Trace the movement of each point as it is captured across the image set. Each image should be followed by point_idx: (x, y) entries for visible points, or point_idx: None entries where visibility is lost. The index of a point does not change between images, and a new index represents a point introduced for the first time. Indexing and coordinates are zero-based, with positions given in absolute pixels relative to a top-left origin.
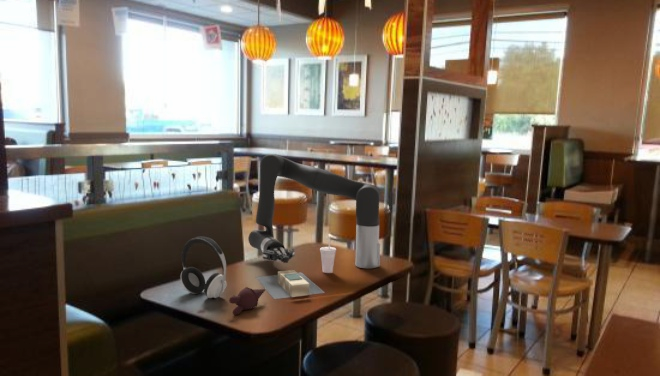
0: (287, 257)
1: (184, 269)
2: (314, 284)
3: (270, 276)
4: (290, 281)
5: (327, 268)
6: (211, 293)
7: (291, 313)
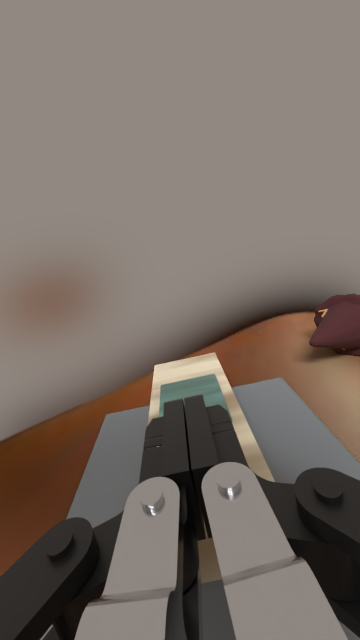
0: (169, 401)
1: None
2: (81, 490)
3: None
4: (213, 371)
5: None
6: None
7: (234, 347)
